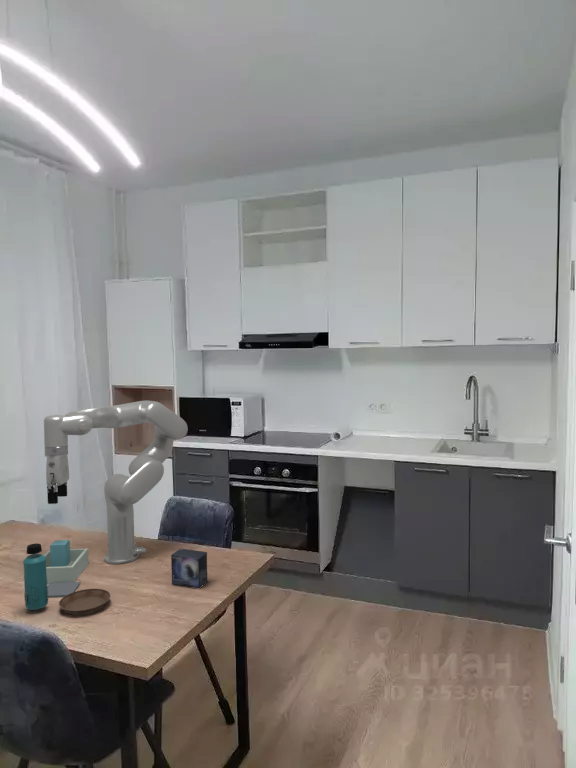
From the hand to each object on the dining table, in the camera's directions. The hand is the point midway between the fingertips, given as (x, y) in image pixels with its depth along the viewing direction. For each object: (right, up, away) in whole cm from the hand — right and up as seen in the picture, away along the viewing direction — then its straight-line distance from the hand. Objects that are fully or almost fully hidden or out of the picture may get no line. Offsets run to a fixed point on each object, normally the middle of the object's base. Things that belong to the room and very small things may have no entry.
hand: (57, 499), depth 194 cm
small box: (+47, -27, -8) cm, 55 cm away
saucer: (+18, -28, -24) cm, 41 cm away
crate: (0, -26, +2) cm, 26 cm away
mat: (+6, -27, -12) cm, 30 cm away
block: (0, -23, +2) cm, 23 cm away
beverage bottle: (+4, -28, -26) cm, 38 cm away
